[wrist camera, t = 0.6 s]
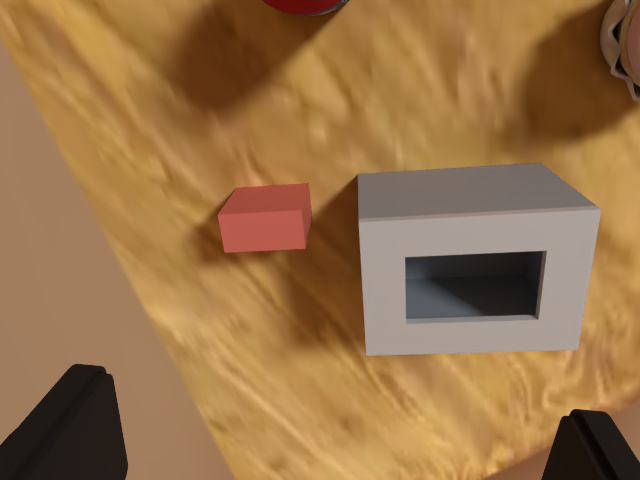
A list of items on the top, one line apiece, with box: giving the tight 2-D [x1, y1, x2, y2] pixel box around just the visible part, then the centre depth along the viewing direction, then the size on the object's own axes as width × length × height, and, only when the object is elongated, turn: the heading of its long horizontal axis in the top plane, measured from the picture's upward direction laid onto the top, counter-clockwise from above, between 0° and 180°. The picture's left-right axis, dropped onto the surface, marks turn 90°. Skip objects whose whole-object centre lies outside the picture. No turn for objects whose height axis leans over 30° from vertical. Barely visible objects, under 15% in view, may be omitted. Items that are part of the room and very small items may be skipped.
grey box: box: [358, 163, 601, 356], centre depth 35 cm, size 14×10×10 cm
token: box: [218, 183, 312, 253], centre depth 37 cm, size 6×3×6 cm, turn 95°
